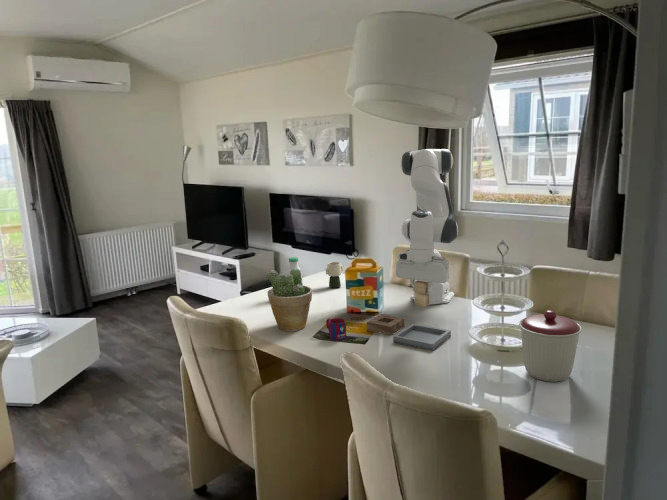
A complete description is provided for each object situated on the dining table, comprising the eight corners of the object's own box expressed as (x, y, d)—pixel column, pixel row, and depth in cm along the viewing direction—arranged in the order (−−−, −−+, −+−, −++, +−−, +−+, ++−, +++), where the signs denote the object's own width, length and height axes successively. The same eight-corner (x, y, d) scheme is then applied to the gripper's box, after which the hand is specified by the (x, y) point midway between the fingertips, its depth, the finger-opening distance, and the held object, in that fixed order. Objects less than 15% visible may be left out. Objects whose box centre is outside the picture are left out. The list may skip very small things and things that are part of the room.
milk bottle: (304, 298, 257) (302, 258, 253) (288, 300, 256) (286, 260, 252) (302, 294, 265) (300, 255, 261) (286, 295, 263) (284, 257, 259)
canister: (531, 358, 178) (533, 298, 174) (587, 373, 165) (591, 309, 161) (507, 376, 165) (509, 312, 161) (566, 393, 153) (569, 324, 148)
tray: (412, 329, 209) (412, 323, 209) (450, 336, 200) (450, 330, 200) (393, 342, 197) (393, 336, 196) (432, 350, 187) (432, 344, 187)
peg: (419, 302, 198) (419, 279, 196) (429, 304, 196) (429, 280, 194) (414, 305, 195) (414, 282, 193) (424, 307, 193) (424, 283, 191)
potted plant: (294, 316, 231) (291, 261, 226) (323, 325, 218) (321, 267, 213) (261, 327, 219) (257, 269, 214) (289, 338, 205) (286, 276, 201)
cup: (334, 341, 200) (334, 324, 198) (321, 334, 208) (321, 317, 207) (349, 337, 203) (349, 321, 202) (336, 330, 212) (335, 314, 210)
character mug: (338, 284, 281) (337, 260, 279) (347, 286, 276) (346, 262, 273) (322, 288, 275) (321, 263, 272) (330, 290, 269) (329, 266, 267)
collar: (380, 322, 219) (380, 314, 219) (404, 326, 213) (404, 318, 212) (366, 330, 211) (366, 321, 210) (391, 335, 204) (391, 326, 203)
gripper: (452, 256, 188) (451, 293, 191) (401, 251, 200) (401, 286, 203) (445, 259, 183) (444, 297, 186) (393, 254, 195) (394, 290, 198)
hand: (422, 291), depth 195 cm, fingers closed on peg, 4 cm apart
